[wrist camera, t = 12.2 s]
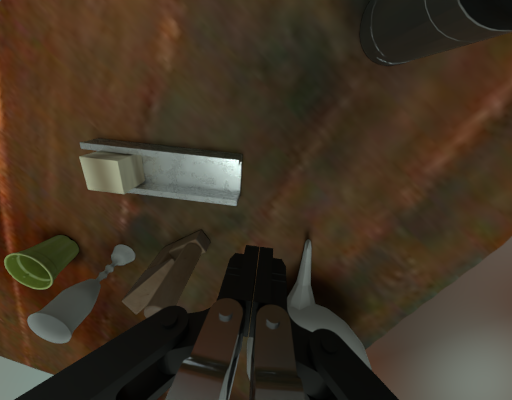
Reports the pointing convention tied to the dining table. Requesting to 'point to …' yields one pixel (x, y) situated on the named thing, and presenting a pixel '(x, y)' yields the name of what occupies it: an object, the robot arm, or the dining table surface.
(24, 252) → the plant pot
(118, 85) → the dining table surface
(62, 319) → the chalice
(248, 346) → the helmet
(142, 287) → the wooden block
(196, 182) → the chute
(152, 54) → the dining table surface
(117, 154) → the block
